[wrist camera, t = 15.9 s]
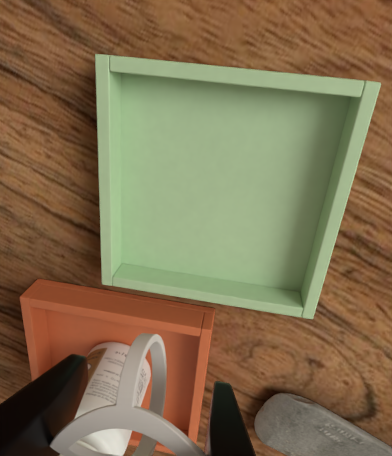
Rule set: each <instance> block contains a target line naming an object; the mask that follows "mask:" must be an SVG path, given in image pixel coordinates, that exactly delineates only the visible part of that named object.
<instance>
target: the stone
mask: <svg viewBox="0 0 392 456" xmlns="http://www.w3.org/2000/svg"><path fill="white" fill-rule="evenodd" d="M254 426H255V432H256V434H257V436H258V438H259V439H260V440H261V441H262V442H263V443H264V444H266V445H268V446H270V447H272V448H274V449H276V450H278V451H280V452H282V453H284V454H286V455H288V456H392V447H390V446H389V445H387V444H386V443H384V442H382V441H381V440H379V439H377V438H376V437H374V436H372V435H371V434H369V433H367V432H366V431H364V430H362V429H360V428H359V427H357V426H355V425H354V424H352V423H350V422H348V421H347V420H345V419H343V418H342V417H340V416H338V415H336V414H335V413H333V412H331V411H329V410H328V409H326V408H324V407H322V406H320V405H319V404H317V403H315V402H313V401H311V400H308V399H306V398H303V397H300V396H297V395H293V394H288V393H278V394H276V395H274V396H272V397H271V398H270V399H268V400H267V401H266V402H265V403H264V405H263V406H262V407H261V409H260V410H259V411H258V413H257V415H256V418H255V422H254Z"/></svg>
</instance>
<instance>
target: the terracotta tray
mask: <svg viewBox="0 0 392 456" xmlns="http://www.w3.org/2000/svg"><path fill="white" fill-rule="evenodd" d="M20 303H21V310H22V317H23V323H24V330H25V337H26V343H27V350H28V356H29V363H30V370H31V376H32V381H34V380H35V379H36V378H38V377H39V376H41V375H42V374H43V373H45V372H46V371H48V370H49V369H50V368H52V367H53V366H55V365H56V364H57V363H59V362H60V361H62V360H63V359H64V358H66V357H67V356H69V355H71V354H78V355H83V356H86V357H87V355H88V353H89V352H90V351H91V350H92V349H93V348H94V347H95V346H97V345H99V344H102V343H105V342H119V343H123V344H126V345H129V346H131V345H132V343H133V341H134V340H135V339H136V337H137V336H138V335H140V334H142V333H148V334H158V335H159V336H160V337H161V338H162V340H163V343H164V347H165V352H166V364H167V380H166V395H165V404H164V411H163V418H164V419H166V420H167V421H169V422H170V423H172V424H173V425H174V426H175V427H177V428H178V429H179V430H180V431H182V432H183V433H184V434H185V435H186V436H187V437H188V438H190V439H191V440H192V441H193V442H194V443H195V444H196V442H197V436H198V429H199V422H200V415H201V408H202V401H203V393H204V386H205V379H206V372H207V365H208V358H209V351H210V343H211V336H212V329H213V322H214V315H215V308H210V307H204V306H198V305H192V304H186V303H181V302H175V301H169V300H163V299H157V298H151V297H145V296H139V295H133V294H127V293H121V292H116V291H110V290H104V289H98V288H92V287H86V286H80V285H74V284H68V283H62V282H56V281H50V280H45V279H37V280H36V281H35V282H34V283H33V284H32V285H31V286H30V287H29V288H28V289H27V290H26V291H25V292H24V293H23V294H22V295H21V296H20ZM145 358H146V360H147V362H148V364H149V366H150V370H151V377H150V381H149V384H148V386H147V389H146V392H145V395H144V398H143V401H142V404H141V407H142V408H145V409H147V410H149V405H150V398H151V389H152V360H151V353H150V349H149V350H148V352H147V354H146V357H145ZM142 435H143V434H142V433H139V432H136V431H132V433H131V436H130V439H129V442H128V444H129V445H133V446H138V445H139V443H140V440H141V438H142ZM154 450H157V451H161V452H166V453H171V454H175V453H174V452H172V451H171V450H170V449H168V448H167V447H165V446H164V445H162V444H161V443H159V442H158V441H157V443H156V446H155V449H154ZM175 455H176V454H175Z"/></svg>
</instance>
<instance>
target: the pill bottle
mask: <svg viewBox="0 0 392 456" xmlns="http://www.w3.org/2000/svg"><path fill="white" fill-rule="evenodd" d="M130 347H131V346H129V345H126V344H123V343H119V342H105V343H102V344H99V345H97V346H95V347H94V348H93V349H92V350H91V351H90V352H89V353H88V355H87V361H88V384H87V387H86V390H85V393H84V395H83V398H82V400H81V403H80V406H79V408H78V411H77V413H76V416H75V419H76V418H77V417H79V416H81V415H82V414H84V413H86V412H89V411H91V410H93V409H96V408H99V407H103V406H107V405H113V404H116V398H117V391H118V386H119V381H120V376H121V372H122V368H123V365H124V362H125V359H126V356H127V353H128V351H129V349H130ZM150 377H151V370H150V366H149V364H148V362H147V360H146V358H145V360H144V363H143V366H142V370H141V374H140V379H139V384H138V390H137V397H136V406H139V407H141V404H142V401H143V398H144V395H145V392H146V389H147V386H148V384H149V381H150ZM131 433H132V430H127V429H106V430H101V431H97V432H94V433H92V434H89V435H87V436H85V437H83V438H81V439H80V440H78V441H77V442H76V443H77V444H79V445H81V446H83V447H85V448H88V449H91V450H94V451H97V452H101V453H106V454H112V455H118V456H123V454H124V453H125V450H126V448H127V445H128V442H129V439H130V436H131ZM59 456H64V455H62V454H60V455H59Z"/></svg>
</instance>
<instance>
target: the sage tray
mask: <svg viewBox="0 0 392 456" xmlns="http://www.w3.org/2000/svg"><path fill="white" fill-rule="evenodd" d="M95 68H96V102H97V137H98V171H99V205H100V239H101V273H102V284H103V285H109V286H112V285H113V286H116V287H122V288H128V289H134V290H140V291H146V292H152V293H158V294H164V295H170V296H176V297H182V298H188V299H194V300H200V301H206V302H212V303H218V304H224V305H230V306H236V307H241V308H247V309H253V310H259V311H265V312H271V313H277V314H283V315H289V316H295V317H302V318H307V319H313V317H314V313H315V310H316V307H317V303H318V300H319V296H320V293H321V289H322V286H323V282H324V279H325V275H326V272H327V269H328V265H329V262H330V258H331V255H332V251H333V248H334V244H335V241H336V238H337V234H338V231H339V227H340V224H341V220H342V217H343V213H344V210H345V207H346V203H347V200H348V196H349V193H350V189H351V186H352V182H353V179H354V176H355V172H356V169H357V165H358V162H359V158H360V155H361V151H362V148H363V145H364V141H365V138H366V134H367V131H368V127H369V124H370V120H371V117H372V114H373V110H374V107H375V103H376V100H377V96H378V93H379V89H380V86H381V83H380V82H373V81H366V80H356V79H346V78H336V77H326V76H316V75H306V74H296V73H286V72H276V71H266V70H256V69H245V68H235V67H225V66H215V65H205V64H195V63H185V62H175V61H165V60H155V59H145V58H135V57H125V56H115V55H102V54H95Z"/></svg>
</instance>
